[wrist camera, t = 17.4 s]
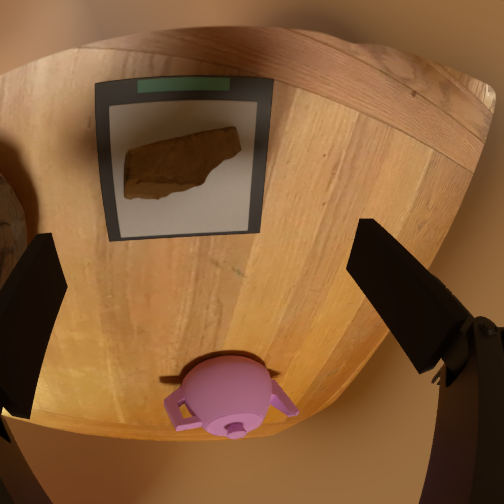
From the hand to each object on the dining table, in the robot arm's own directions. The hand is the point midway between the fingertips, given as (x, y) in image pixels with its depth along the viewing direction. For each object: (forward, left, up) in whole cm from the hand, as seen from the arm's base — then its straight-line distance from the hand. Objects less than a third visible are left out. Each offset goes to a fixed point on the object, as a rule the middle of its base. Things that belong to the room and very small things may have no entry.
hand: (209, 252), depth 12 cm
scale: (+1, -1, -20) cm, 20 cm away
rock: (+1, -1, -17) cm, 17 cm away
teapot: (+39, +4, -20) cm, 44 cm away
